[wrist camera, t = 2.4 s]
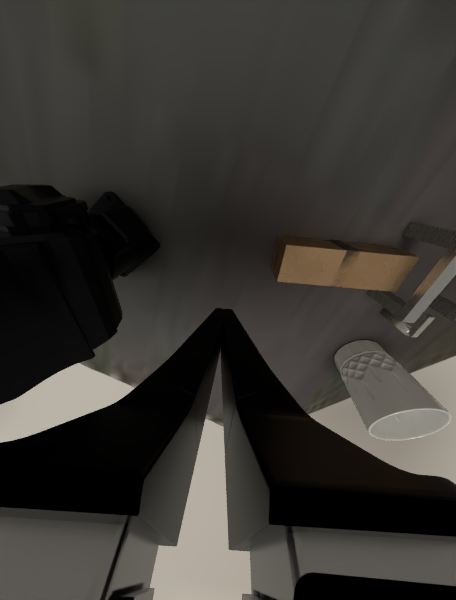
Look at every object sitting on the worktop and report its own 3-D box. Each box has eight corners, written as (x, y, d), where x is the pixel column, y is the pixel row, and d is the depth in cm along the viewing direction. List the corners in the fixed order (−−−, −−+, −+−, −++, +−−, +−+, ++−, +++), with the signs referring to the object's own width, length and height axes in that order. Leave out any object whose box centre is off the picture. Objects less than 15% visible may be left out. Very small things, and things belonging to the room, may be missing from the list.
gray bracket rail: (356, 312, 23) (385, 342, 19) (410, 222, 17) (472, 235, 13) (409, 316, 23) (450, 347, 19) (481, 229, 17) (567, 244, 13)
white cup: (361, 328, 25) (424, 400, 17) (395, 349, 27) (468, 422, 18) (319, 359, 29) (353, 430, 20) (352, 374, 31) (395, 445, 22)
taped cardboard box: (270, 267, 20) (276, 282, 17) (278, 234, 18) (286, 244, 15) (372, 276, 21) (395, 292, 18) (390, 245, 19) (420, 256, 16)
